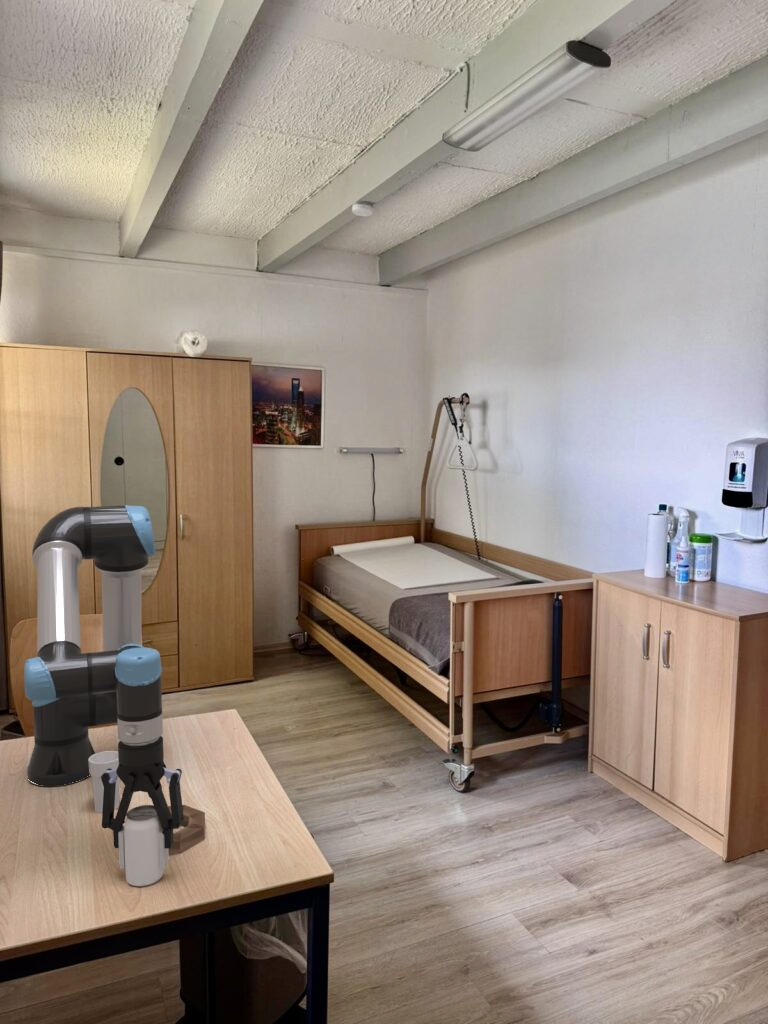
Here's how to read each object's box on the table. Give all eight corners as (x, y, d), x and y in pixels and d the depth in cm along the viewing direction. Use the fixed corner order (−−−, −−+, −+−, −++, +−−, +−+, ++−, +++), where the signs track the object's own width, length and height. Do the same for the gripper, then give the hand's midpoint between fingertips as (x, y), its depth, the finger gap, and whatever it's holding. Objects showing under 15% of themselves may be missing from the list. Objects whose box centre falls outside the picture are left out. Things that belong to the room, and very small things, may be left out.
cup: (129, 806, 157) (127, 756, 156) (99, 817, 152) (97, 766, 151) (114, 796, 161) (112, 748, 160) (84, 807, 157) (82, 757, 156)
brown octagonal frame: (112, 841, 143) (111, 828, 143) (170, 810, 155) (170, 799, 155) (162, 863, 135) (162, 850, 135) (220, 830, 147) (219, 818, 147)
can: (131, 867, 134) (129, 804, 133) (167, 866, 134) (165, 803, 133) (121, 888, 127) (119, 822, 126) (159, 887, 128) (157, 820, 127)
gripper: (76, 746, 125) (81, 876, 127) (189, 746, 125) (192, 877, 127) (94, 729, 132) (98, 852, 134) (201, 730, 132) (204, 853, 134)
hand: (144, 864), depth 130 cm, fingers closed on can, 6 cm apart
